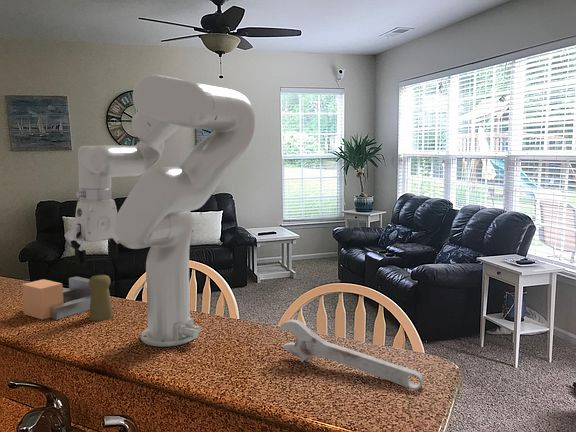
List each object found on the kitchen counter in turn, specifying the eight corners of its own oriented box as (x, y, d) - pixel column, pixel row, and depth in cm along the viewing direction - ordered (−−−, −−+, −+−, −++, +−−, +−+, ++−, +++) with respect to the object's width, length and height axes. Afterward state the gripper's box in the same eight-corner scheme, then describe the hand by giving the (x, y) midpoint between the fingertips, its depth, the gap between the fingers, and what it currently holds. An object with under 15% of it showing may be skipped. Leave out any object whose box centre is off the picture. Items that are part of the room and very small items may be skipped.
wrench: (417, 405, 86) (275, 353, 100) (420, 401, 88) (280, 350, 102) (424, 364, 85) (279, 317, 99) (427, 361, 86) (284, 315, 100)
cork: (117, 317, 124) (116, 275, 122) (94, 322, 119) (92, 279, 118) (107, 311, 128) (106, 271, 126) (84, 316, 124) (82, 275, 122)
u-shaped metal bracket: (108, 303, 135) (108, 282, 134) (56, 320, 121) (55, 297, 120) (77, 296, 142) (76, 276, 141) (24, 310, 128) (23, 289, 127)
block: (63, 313, 126) (62, 283, 125) (42, 319, 121) (40, 288, 120) (45, 307, 130) (43, 279, 129) (23, 313, 125) (21, 284, 124)
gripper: (74, 198, 110) (77, 270, 113) (133, 194, 125) (134, 257, 128) (54, 196, 114) (57, 266, 117) (113, 192, 129) (115, 254, 131)
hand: (97, 261), depth 122 cm, fingers open, 9 cm apart
